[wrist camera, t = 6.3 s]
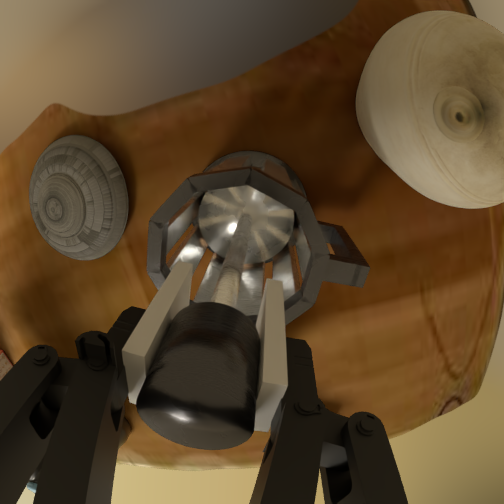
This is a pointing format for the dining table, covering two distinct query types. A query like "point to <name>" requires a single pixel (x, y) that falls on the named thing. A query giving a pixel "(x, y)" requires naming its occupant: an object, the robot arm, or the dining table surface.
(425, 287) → the dining table surface
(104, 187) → the flying saucer
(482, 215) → the dining table surface
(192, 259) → the press carafe
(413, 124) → the jug
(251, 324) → the plunger
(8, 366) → the cracker box
